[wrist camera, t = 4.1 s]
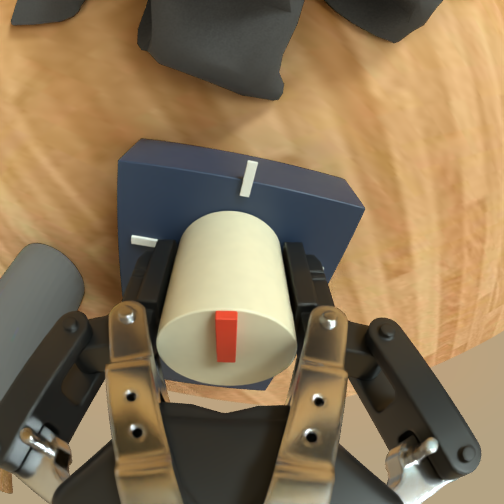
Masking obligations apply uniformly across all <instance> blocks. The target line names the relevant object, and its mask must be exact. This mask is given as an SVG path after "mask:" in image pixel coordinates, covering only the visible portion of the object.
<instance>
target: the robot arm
mask: <svg viewBox="0 0 504 504" xmlns="http://www.w3.org/2000/svg"><path fill="white" fill-rule="evenodd" d="M176 253H177V244H176V240H169V239H158V240H157V242H156V245H155V248H154V250H153V251H145V252H144V253H143V254H142V255H141V256H140V257H139V258H138V260H137V263H136V265H135V269H134V270H133V273H132V276H131V278H130V280H129V283H128V286H127V288H126V291H125V294H124V296H123V299H122V302H121V303H119V304H117V305H115V306H114V307H113V308H112V310H111V311H110V313H109V315H106V316H103V317H98V318H93V319H87V317H86V315H85V314H84V313H82V312H79V311H71V312H68V313H66V314H64V315H62V316H61V317H60V318H59V319H58V321H57V322H56V323H55V324H54V326H53V327H52V328H51V330H50V331H49V332H48V334H47V335H46V336H45V337H44V339H43V340H42V342H41V343H40V344H39V346H38V347H37V348H36V350H35V351H34V352H33V354H32V355H31V357H30V358H29V359H28V361H27V362H26V364H25V365H24V367H23V368H22V369H21V371H20V372H19V374H18V375H17V377H16V378H15V380H14V381H13V383H12V384H11V386H10V387H9V389H8V391H7V392H6V394H5V395H4V397H3V399H2V400H1V402H0V468H1V469H3V470H5V471H8V472H10V473H12V474H14V475H16V476H17V477H18V478H19V479H20V480H21V481H22V482H23V483H24V484H26V485H27V486H28V487H29V488H30V489H31V490H33V491H34V492H35V493H36V494H38V495H39V496H40V497H41V498H43V499H44V500H45V501H46V502H48V503H49V504H421V503H422V502H423V501H425V500H426V499H428V498H429V497H430V496H432V495H433V494H434V493H435V492H437V491H438V490H439V489H440V488H442V487H443V486H444V485H445V484H448V483H450V482H453V481H455V480H457V479H458V478H460V477H462V476H465V475H467V474H469V473H471V472H473V471H474V470H475V469H476V468H477V466H478V465H479V462H480V459H481V448H480V445H479V443H478V442H477V440H476V438H475V436H474V435H473V433H472V431H471V430H470V428H469V426H468V425H467V423H466V422H465V420H464V418H463V417H462V415H461V414H460V412H459V410H458V409H457V407H456V406H455V404H454V403H453V401H452V400H451V398H450V397H449V395H448V394H447V392H446V391H445V389H444V388H443V386H442V385H441V383H440V382H439V380H438V379H437V377H436V376H435V374H434V373H433V372H432V370H431V369H430V367H429V366H428V364H427V363H426V361H425V360H424V359H423V357H422V356H421V354H420V353H419V352H418V350H417V349H416V347H415V346H414V345H413V343H412V342H411V341H410V339H409V338H408V337H407V335H406V334H405V333H404V331H403V330H402V329H401V327H400V326H399V325H398V324H397V323H396V322H394V321H393V320H391V319H388V318H377V319H374V320H373V321H372V322H371V323H370V325H369V326H367V325H363V324H358V323H354V322H351V321H348V320H347V317H346V315H345V314H344V313H343V312H342V311H341V310H340V309H338V308H336V307H335V306H334V302H333V299H332V296H331V292H330V289H329V286H328V283H327V281H326V276H325V273H324V270H323V267H322V264H321V262H320V261H319V260H318V259H317V258H316V257H315V255H307V254H305V250H304V247H303V244H302V243H301V242H284V245H283V251H282V257H283V262H284V268H285V273H286V279H287V285H288V290H289V296H290V302H291V308H292V314H293V320H294V326H295V332H296V338H297V346H298V349H297V358H296V363H295V367H294V371H293V375H292V379H291V383H290V387H289V391H288V395H287V399H286V402H285V405H277V406H256V407H252V408H248V409H244V410H239V411H234V412H230V413H221V412H217V411H214V410H210V409H206V408H203V407H200V406H196V405H193V404H182V403H170V400H169V397H168V393H167V388H166V384H165V379H164V374H163V369H162V364H161V359H160V356H159V354H158V351H157V347H156V338H157V333H158V328H159V324H160V319H161V315H162V310H163V306H164V301H165V297H166V293H167V289H168V285H169V281H170V277H171V273H172V269H173V265H174V261H175V257H176ZM348 378H349V380H350V382H351V384H352V385H353V387H354V389H355V391H356V392H357V394H358V396H359V398H360V399H361V401H362V403H363V405H364V406H365V408H366V410H367V412H368V413H369V415H370V417H371V419H372V421H373V422H374V424H375V426H376V428H377V429H378V431H379V433H380V435H381V437H382V438H383V440H384V442H385V444H386V446H387V448H388V449H389V452H388V454H387V457H386V461H385V465H386V470H387V472H388V482H387V485H386V484H385V483H384V482H382V481H381V480H380V479H379V478H378V477H377V476H375V475H374V474H373V473H372V472H371V471H369V470H368V469H367V468H366V467H365V466H363V464H361V463H360V462H359V461H358V460H357V459H356V458H355V457H354V456H352V455H351V454H350V453H349V452H348V451H347V450H346V449H345V448H344V447H343V446H341V445H340V444H339V439H340V433H341V426H342V420H343V413H344V406H345V398H346V390H347V381H348ZM105 379H106V392H107V403H108V413H109V421H110V429H111V435H112V439H111V440H110V441H109V442H108V443H107V444H106V445H105V446H104V447H103V448H101V449H100V450H99V451H98V452H97V453H96V454H95V455H94V456H92V458H90V459H89V460H88V461H87V462H86V463H84V464H83V465H82V466H81V467H80V468H79V469H78V470H76V471H75V472H74V473H73V474H72V475H71V476H70V474H69V465H71V463H72V455H71V449H70V447H69V445H68V444H69V442H70V440H71V438H72V436H73V435H74V433H75V431H76V429H77V427H78V425H79V424H80V422H81V420H82V418H83V416H84V415H85V413H86V411H87V409H88V408H89V406H90V404H91V402H92V400H93V399H94V397H95V395H96V393H97V392H98V390H99V388H100V387H101V385H102V383H103V382H104V380H105Z"/></svg>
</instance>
